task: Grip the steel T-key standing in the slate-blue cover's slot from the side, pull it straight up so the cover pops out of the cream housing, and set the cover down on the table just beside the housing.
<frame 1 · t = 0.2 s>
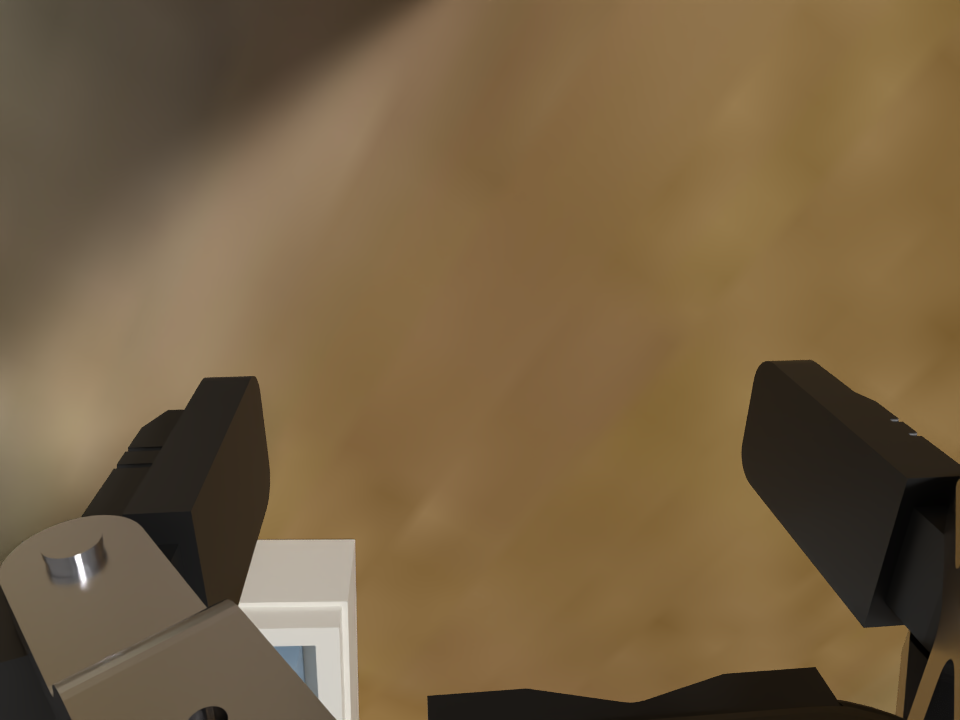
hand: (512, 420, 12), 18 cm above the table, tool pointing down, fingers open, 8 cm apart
housing: (209, 656, 37), on the table
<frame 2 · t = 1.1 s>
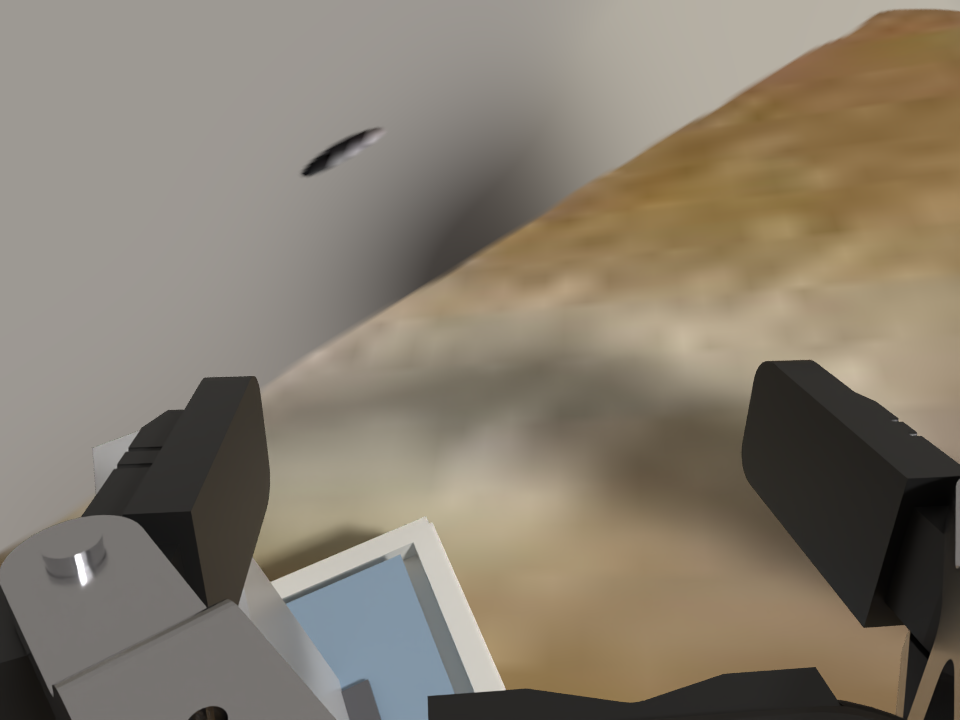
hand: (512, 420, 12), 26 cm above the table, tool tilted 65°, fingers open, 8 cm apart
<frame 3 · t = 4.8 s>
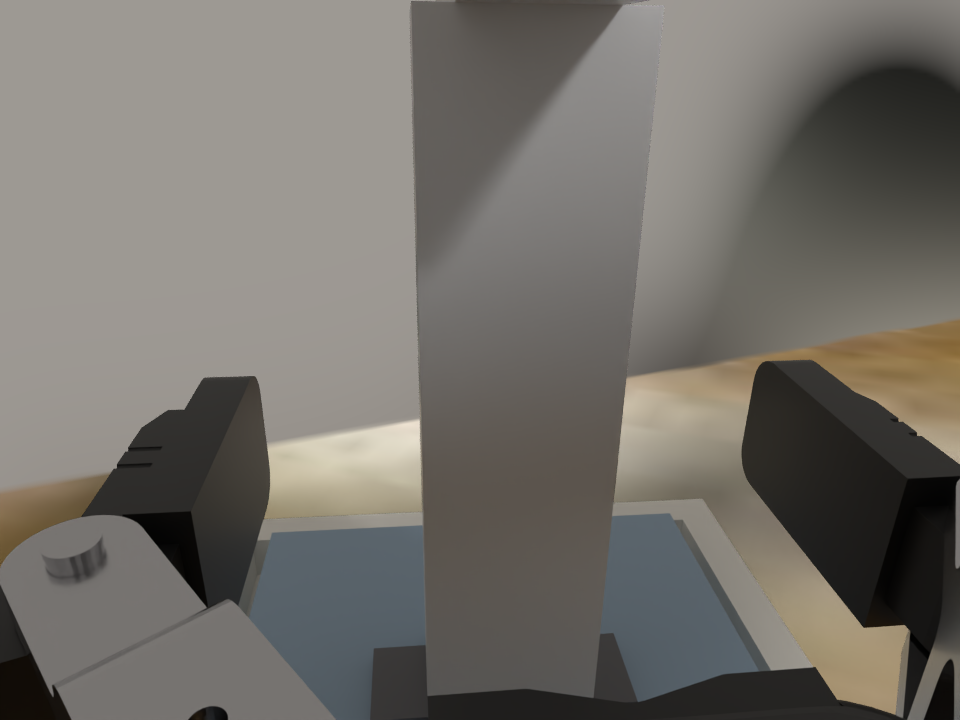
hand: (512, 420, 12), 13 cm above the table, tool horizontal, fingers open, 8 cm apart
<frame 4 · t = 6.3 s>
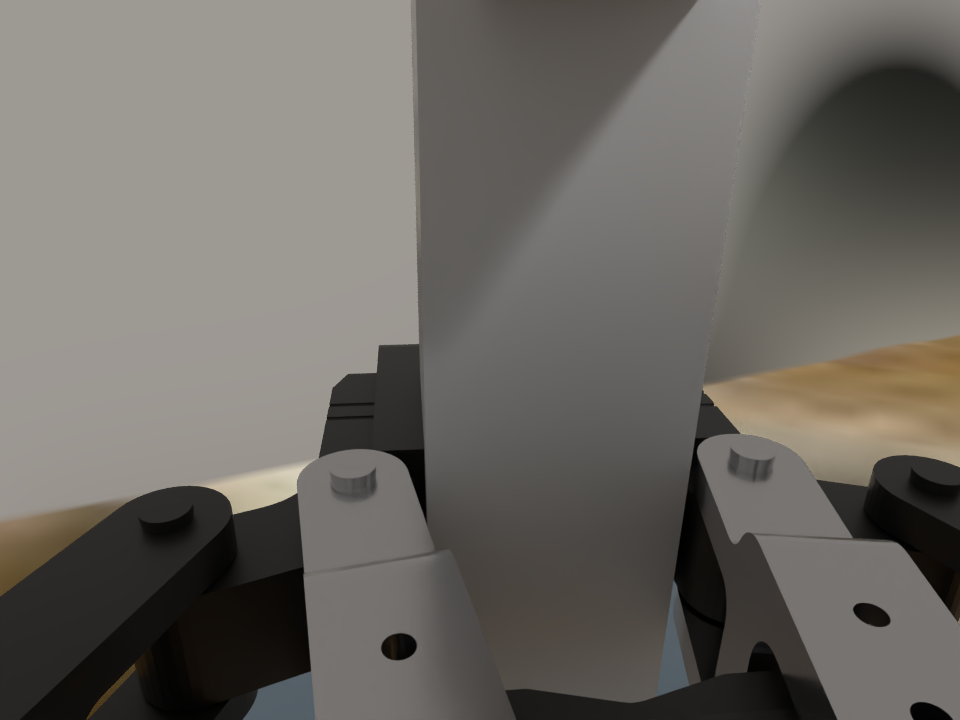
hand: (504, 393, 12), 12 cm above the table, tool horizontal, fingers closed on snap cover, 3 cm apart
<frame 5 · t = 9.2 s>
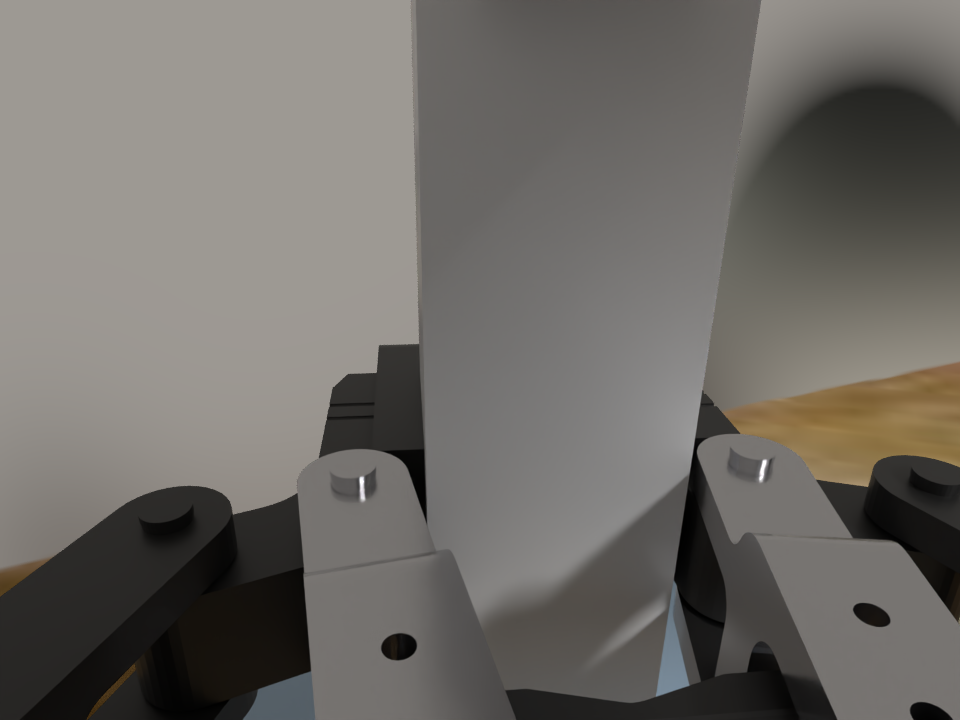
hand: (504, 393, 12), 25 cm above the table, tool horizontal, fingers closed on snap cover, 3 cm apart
when the fingers open (10 cm above the table, at t = 12.2 s): snap cover drops 1 cm, on the table.
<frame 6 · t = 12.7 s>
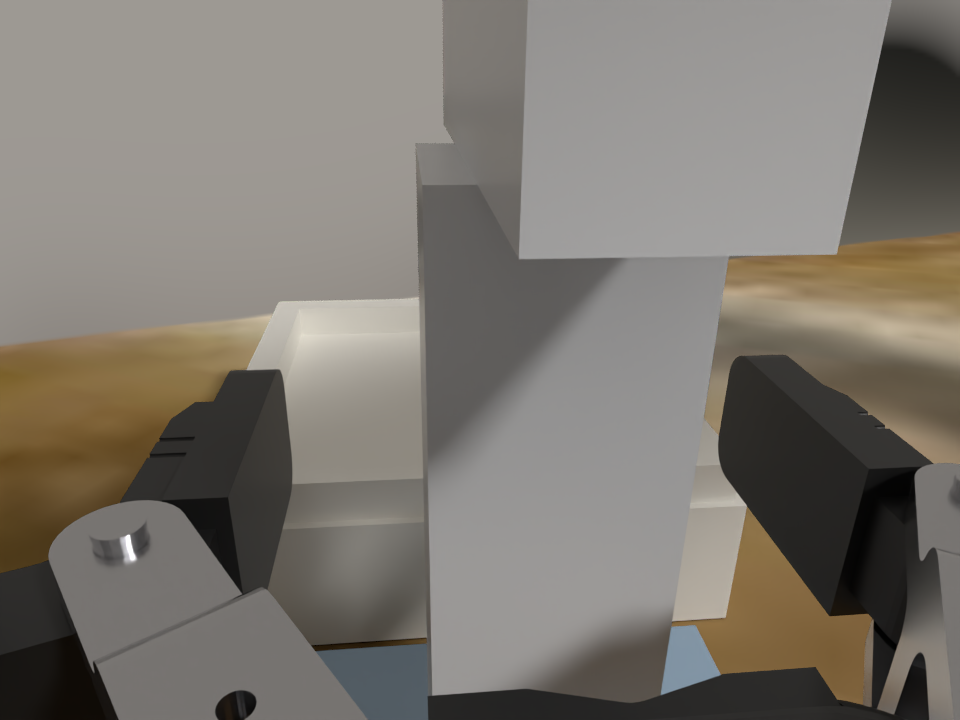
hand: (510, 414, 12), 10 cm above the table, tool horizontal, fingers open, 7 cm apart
housing: (456, 487, 28), on the table
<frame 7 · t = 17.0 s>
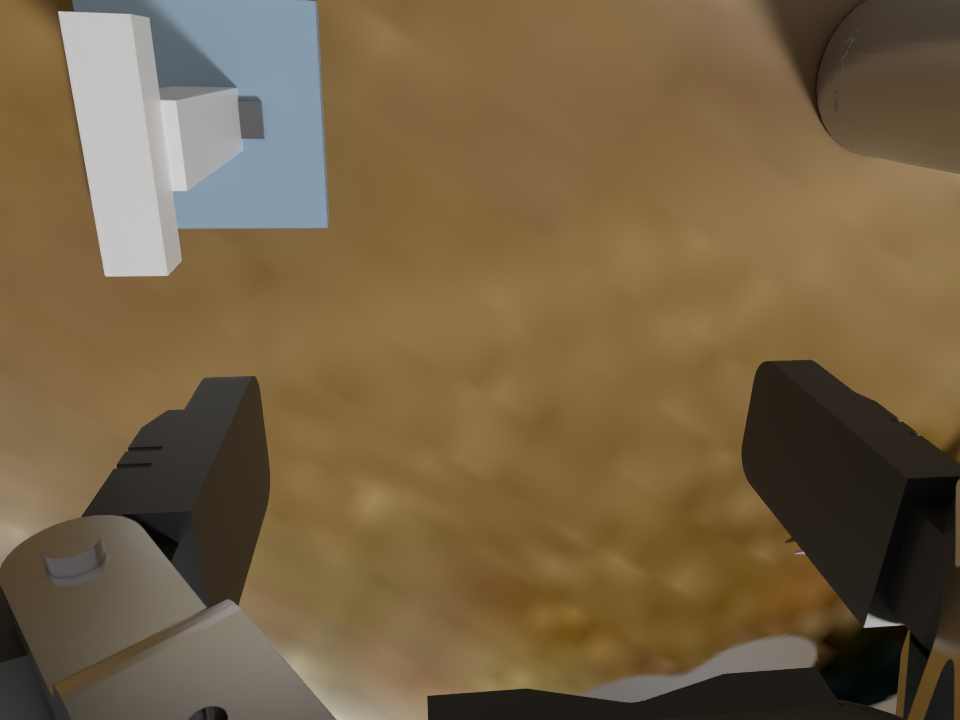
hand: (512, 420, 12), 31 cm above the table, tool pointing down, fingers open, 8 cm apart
snap cover: (217, 116, 38), on the table
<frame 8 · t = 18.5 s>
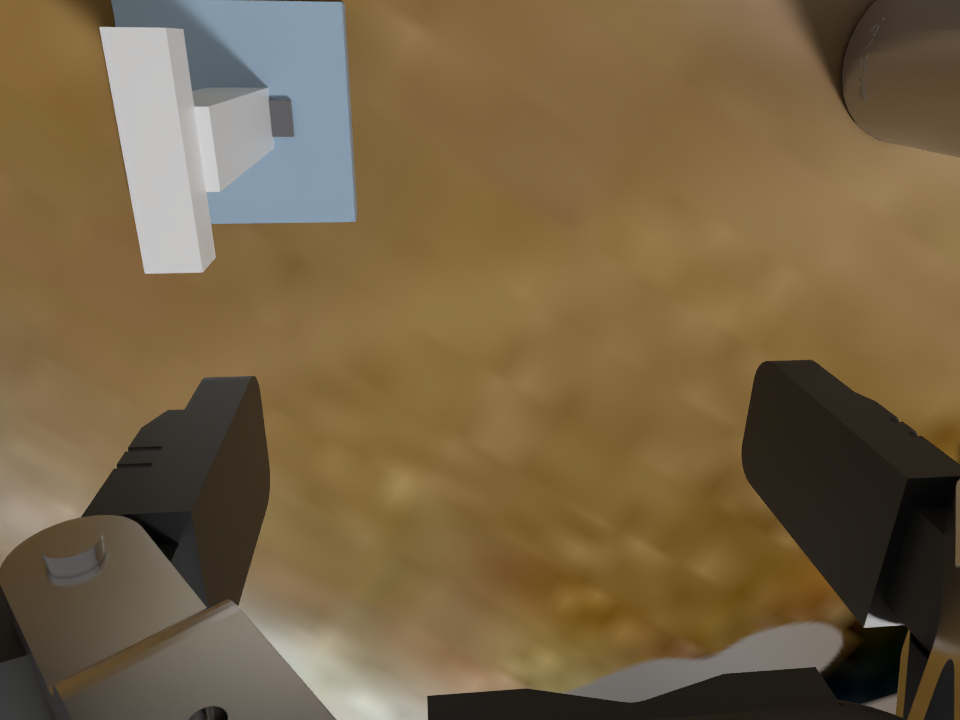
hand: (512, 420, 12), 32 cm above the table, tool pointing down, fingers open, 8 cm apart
snap cover: (249, 114, 39), on the table
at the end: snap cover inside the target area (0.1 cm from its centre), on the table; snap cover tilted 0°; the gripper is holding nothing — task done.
